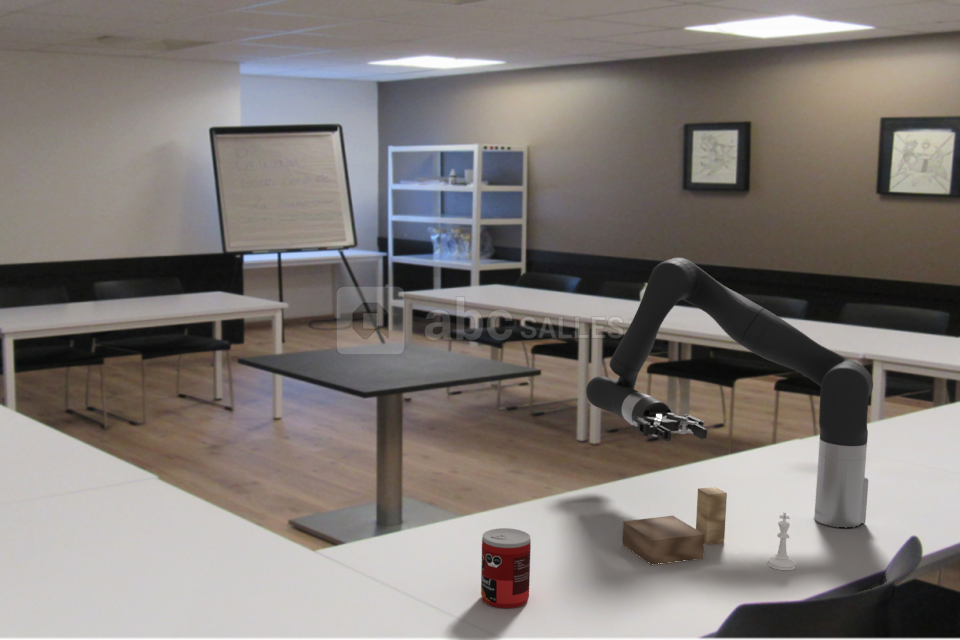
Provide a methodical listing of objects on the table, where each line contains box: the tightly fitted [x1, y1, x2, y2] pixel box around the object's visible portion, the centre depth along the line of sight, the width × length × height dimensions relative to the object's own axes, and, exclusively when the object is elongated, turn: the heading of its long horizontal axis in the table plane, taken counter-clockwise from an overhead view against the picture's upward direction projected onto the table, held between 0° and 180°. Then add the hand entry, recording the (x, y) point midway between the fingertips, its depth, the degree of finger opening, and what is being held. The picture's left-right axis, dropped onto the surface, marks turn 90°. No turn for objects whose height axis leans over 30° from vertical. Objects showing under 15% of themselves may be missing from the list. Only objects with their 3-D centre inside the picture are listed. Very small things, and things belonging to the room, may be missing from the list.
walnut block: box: [621, 515, 705, 566], centre depth 187 cm, size 11×11×5 cm
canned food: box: [480, 527, 532, 609], centre depth 163 cm, size 8×8×11 cm
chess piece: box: [767, 511, 796, 571], centre depth 181 cm, size 5×5×10 cm
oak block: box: [695, 486, 728, 546], centre depth 193 cm, size 4×4×10 cm
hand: (687, 435), depth 201 cm, fingers open, 8 cm apart
